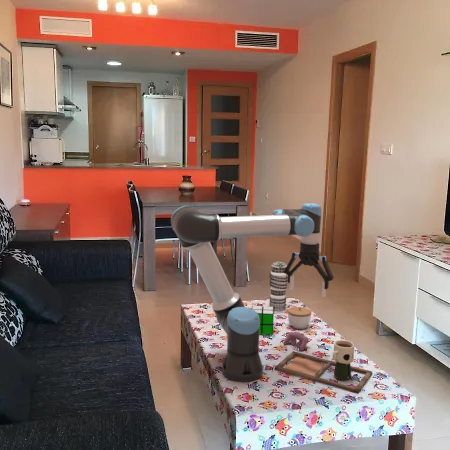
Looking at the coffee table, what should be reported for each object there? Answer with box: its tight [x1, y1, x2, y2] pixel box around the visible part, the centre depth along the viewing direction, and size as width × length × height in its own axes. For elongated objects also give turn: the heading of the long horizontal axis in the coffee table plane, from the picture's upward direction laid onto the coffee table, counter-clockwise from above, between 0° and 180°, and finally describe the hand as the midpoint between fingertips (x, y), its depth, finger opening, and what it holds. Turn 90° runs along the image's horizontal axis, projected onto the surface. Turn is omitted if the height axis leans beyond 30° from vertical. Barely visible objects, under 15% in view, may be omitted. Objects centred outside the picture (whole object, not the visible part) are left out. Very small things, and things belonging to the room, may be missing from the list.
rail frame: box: [273, 351, 373, 394], centre depth 184 cm, size 17×32×1 cm, turn 58°
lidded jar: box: [287, 306, 312, 330], centre depth 228 cm, size 11×11×9 cm
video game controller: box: [283, 331, 310, 352], centre depth 206 cm, size 10×5×7 cm, turn 47°
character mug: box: [332, 339, 355, 381], centre depth 179 cm, size 11×7×13 cm, turn 125°
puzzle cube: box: [251, 305, 275, 336], centre depth 222 cm, size 10×10×10 cm
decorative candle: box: [268, 261, 288, 314], centre depth 248 cm, size 9×9×25 cm
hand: (307, 293), depth 199 cm, fingers open, 13 cm apart
